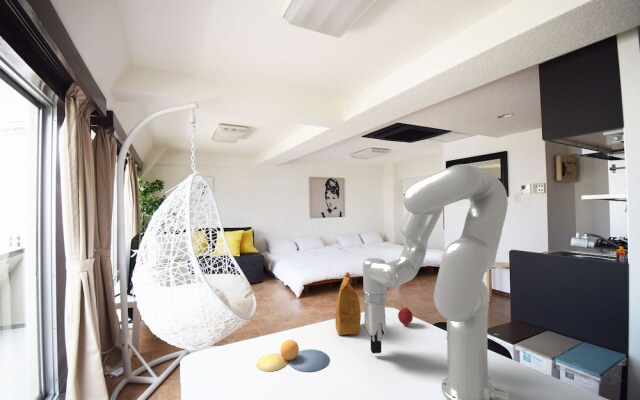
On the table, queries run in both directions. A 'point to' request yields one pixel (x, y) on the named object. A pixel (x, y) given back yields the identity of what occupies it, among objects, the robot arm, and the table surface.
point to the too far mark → (271, 362)
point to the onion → (405, 316)
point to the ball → (289, 349)
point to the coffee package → (347, 309)
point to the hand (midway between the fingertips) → (376, 351)
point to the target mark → (310, 360)
